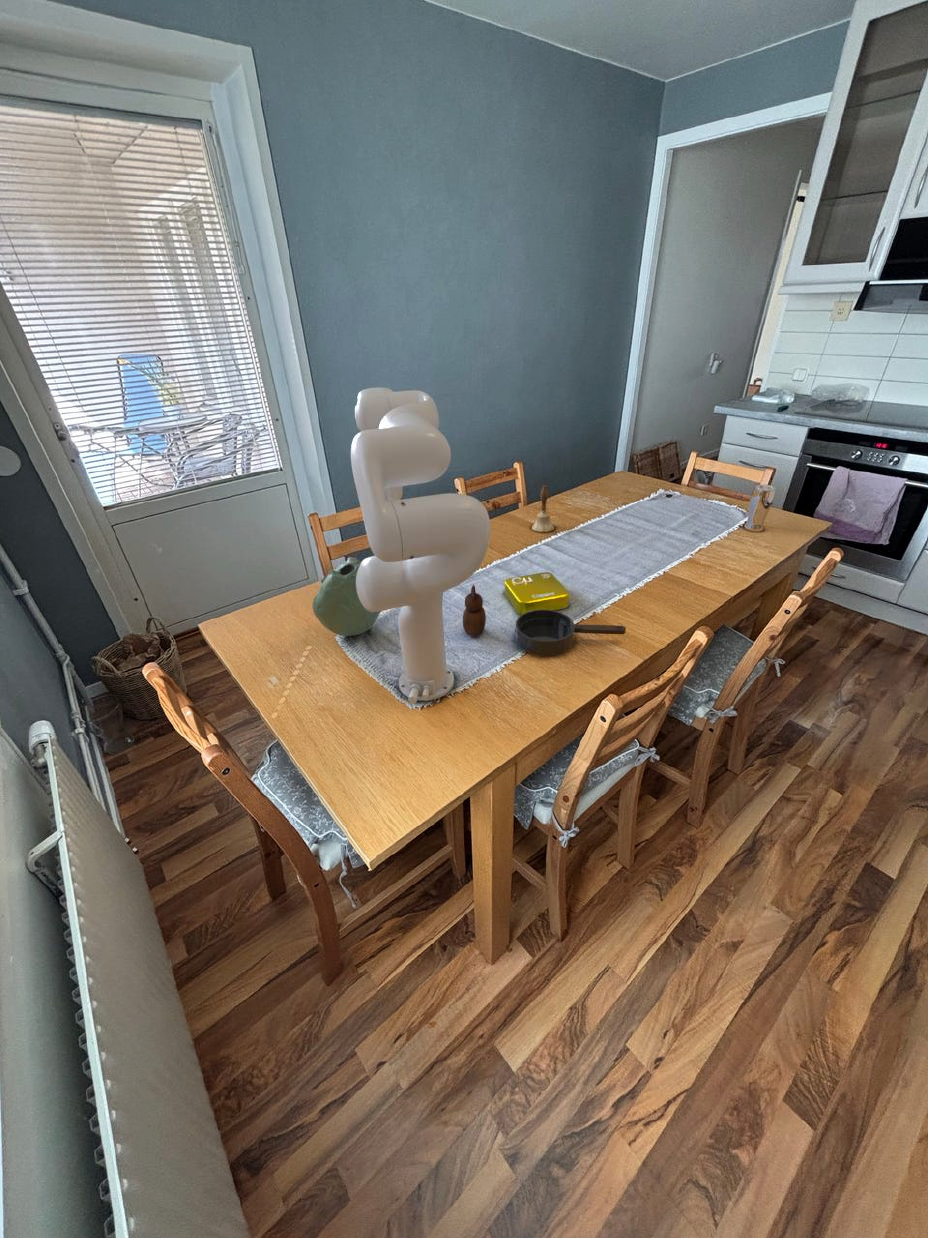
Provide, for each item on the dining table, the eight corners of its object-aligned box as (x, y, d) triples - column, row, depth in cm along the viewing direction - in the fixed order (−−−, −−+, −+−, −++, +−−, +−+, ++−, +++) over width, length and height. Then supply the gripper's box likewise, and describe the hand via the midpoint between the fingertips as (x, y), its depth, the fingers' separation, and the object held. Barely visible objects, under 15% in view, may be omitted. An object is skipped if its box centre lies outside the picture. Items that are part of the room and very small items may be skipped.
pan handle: (625, 635, 123) (626, 630, 123) (572, 633, 125) (573, 628, 124) (624, 630, 125) (625, 625, 124) (572, 628, 127) (572, 623, 126)
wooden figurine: (483, 640, 129) (482, 589, 120) (461, 639, 130) (458, 588, 122) (487, 626, 134) (486, 576, 126) (466, 624, 135) (464, 575, 127)
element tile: (520, 617, 137) (520, 602, 135) (502, 591, 150) (502, 577, 147) (571, 607, 140) (572, 592, 138) (549, 583, 153) (550, 569, 150)
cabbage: (309, 634, 134) (292, 567, 124) (368, 607, 145) (357, 543, 134) (340, 658, 124) (324, 588, 114) (401, 628, 135) (392, 560, 124)
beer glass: (744, 531, 179) (755, 490, 171) (741, 524, 185) (752, 483, 177) (766, 532, 177) (778, 491, 169) (762, 525, 183) (774, 484, 175)
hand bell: (527, 526, 191) (528, 485, 182) (546, 522, 193) (548, 481, 185) (539, 534, 184) (541, 491, 176) (558, 529, 187) (561, 487, 178)
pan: (575, 657, 121) (576, 642, 119) (514, 655, 123) (514, 640, 120) (571, 624, 133) (572, 610, 131) (516, 623, 135) (516, 608, 133)
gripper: (378, 442, 114) (387, 514, 123) (352, 464, 99) (365, 543, 109) (410, 442, 113) (417, 514, 122) (389, 464, 98) (398, 544, 108)
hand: (392, 528), depth 115 cm, fingers open, 9 cm apart
